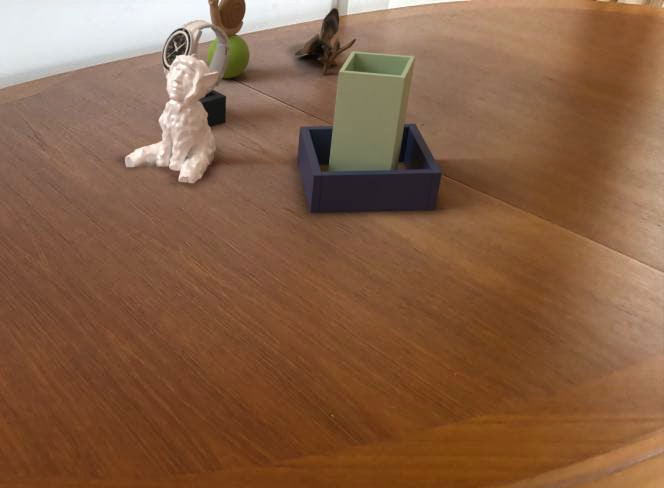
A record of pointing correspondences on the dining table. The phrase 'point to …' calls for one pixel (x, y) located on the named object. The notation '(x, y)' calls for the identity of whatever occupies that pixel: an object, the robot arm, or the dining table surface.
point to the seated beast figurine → (182, 123)
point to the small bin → (370, 111)
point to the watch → (187, 44)
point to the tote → (368, 177)
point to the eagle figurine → (326, 42)
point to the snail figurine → (230, 34)
